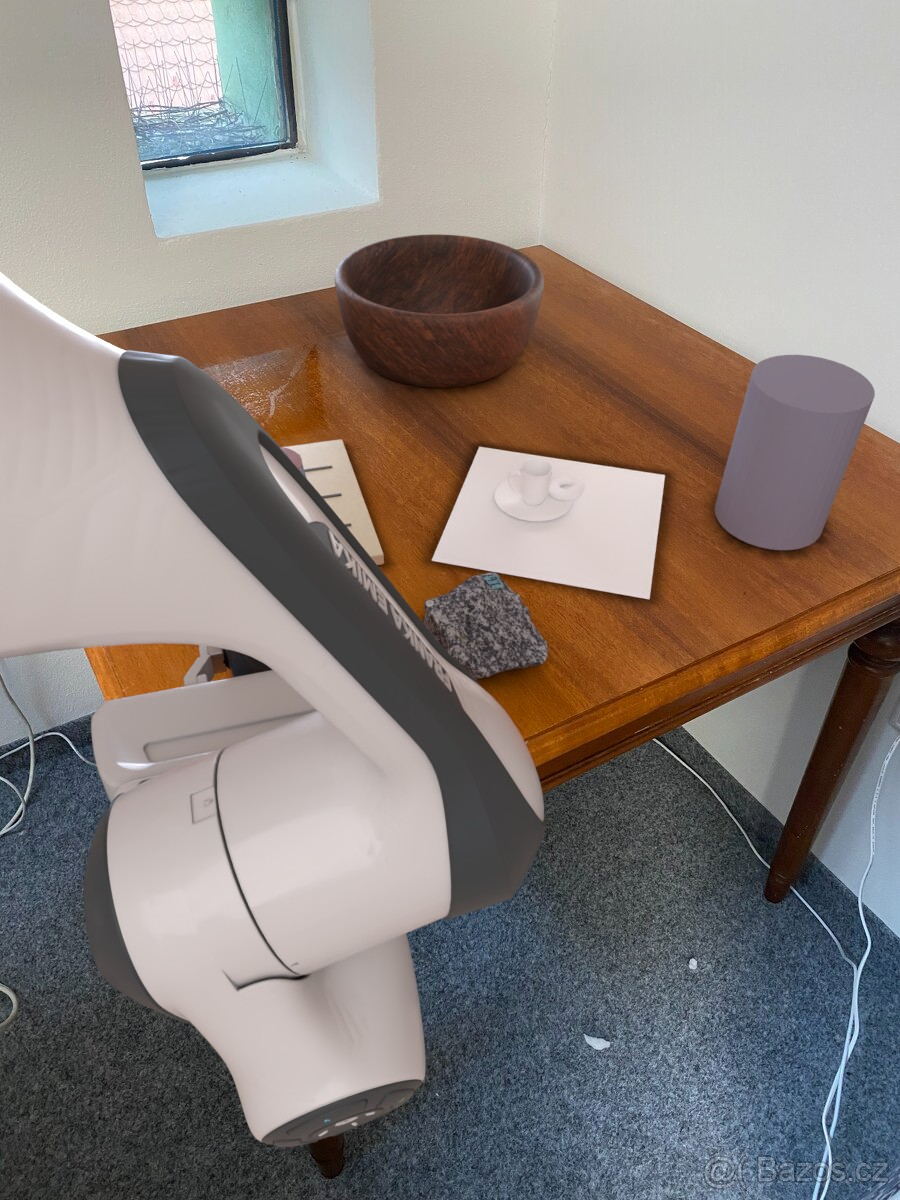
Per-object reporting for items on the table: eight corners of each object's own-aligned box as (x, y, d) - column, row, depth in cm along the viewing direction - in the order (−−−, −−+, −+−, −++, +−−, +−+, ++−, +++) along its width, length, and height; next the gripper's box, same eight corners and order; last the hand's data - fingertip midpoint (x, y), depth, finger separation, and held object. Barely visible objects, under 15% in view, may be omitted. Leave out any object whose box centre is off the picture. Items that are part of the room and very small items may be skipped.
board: (159, 602, 76) (155, 591, 75) (150, 473, 90) (148, 462, 89) (384, 564, 80) (383, 553, 79) (342, 447, 94) (341, 436, 94)
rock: (465, 703, 68) (467, 666, 65) (417, 619, 75) (417, 583, 72) (552, 676, 70) (557, 639, 68) (497, 597, 77) (500, 560, 74)
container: (752, 562, 81) (798, 421, 71) (693, 500, 89) (728, 364, 78) (843, 540, 84) (901, 402, 74) (780, 481, 91) (824, 348, 81)
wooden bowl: (404, 294, 124) (402, 219, 117) (567, 335, 115) (576, 257, 108) (300, 368, 107) (291, 286, 100) (482, 422, 99) (486, 337, 92)
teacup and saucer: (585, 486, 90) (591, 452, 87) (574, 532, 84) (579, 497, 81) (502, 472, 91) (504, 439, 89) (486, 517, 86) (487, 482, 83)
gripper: (474, 734, 48) (412, 574, 58) (80, 818, 43) (84, 629, 53) (469, 801, 52) (412, 642, 62) (110, 884, 48) (109, 697, 57)
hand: (258, 636), depth 57 cm, fingers closed on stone, 5 cm apart
